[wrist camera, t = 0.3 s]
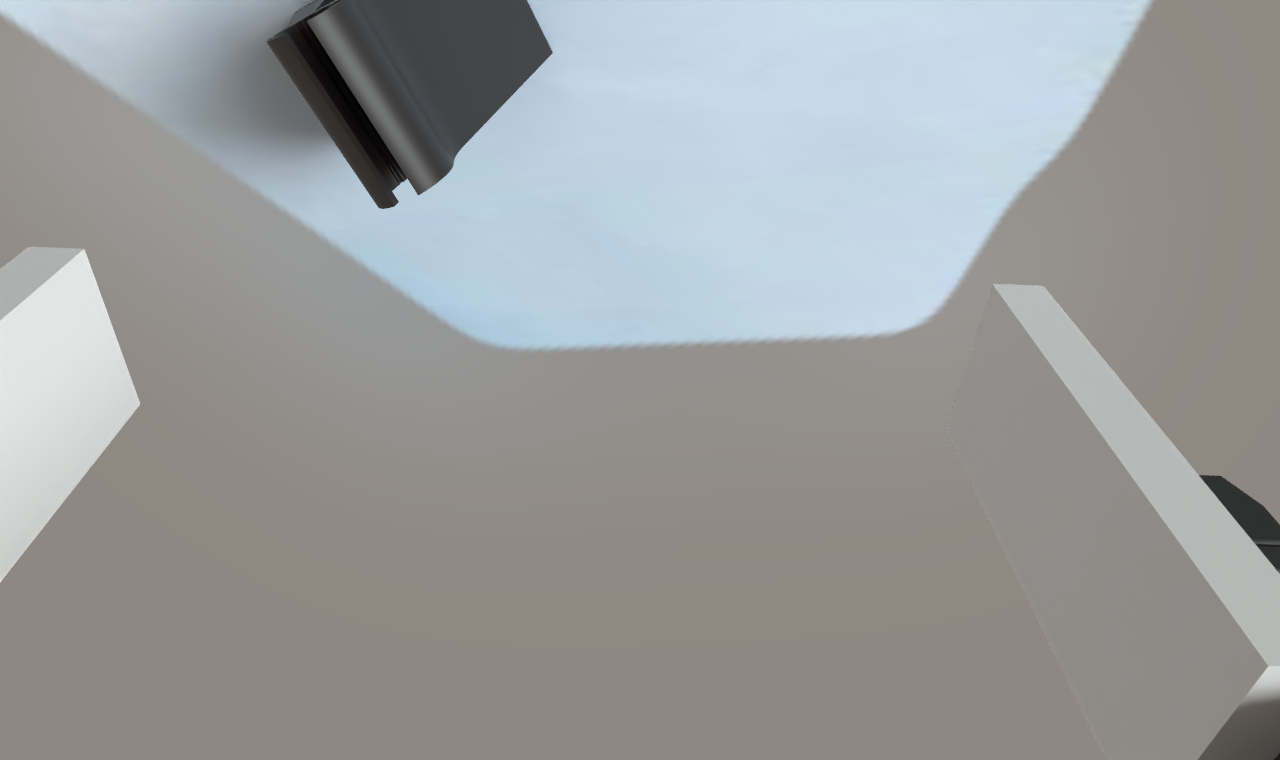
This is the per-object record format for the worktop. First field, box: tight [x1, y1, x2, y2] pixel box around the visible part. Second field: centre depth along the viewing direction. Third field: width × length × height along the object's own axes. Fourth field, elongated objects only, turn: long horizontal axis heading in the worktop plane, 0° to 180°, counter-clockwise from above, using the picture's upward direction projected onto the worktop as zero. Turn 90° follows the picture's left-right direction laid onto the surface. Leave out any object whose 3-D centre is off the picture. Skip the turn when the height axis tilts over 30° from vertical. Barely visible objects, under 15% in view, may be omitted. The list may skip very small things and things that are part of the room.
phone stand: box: [267, 0, 553, 209], centre depth 32 cm, size 9×6×12 cm, turn 114°
